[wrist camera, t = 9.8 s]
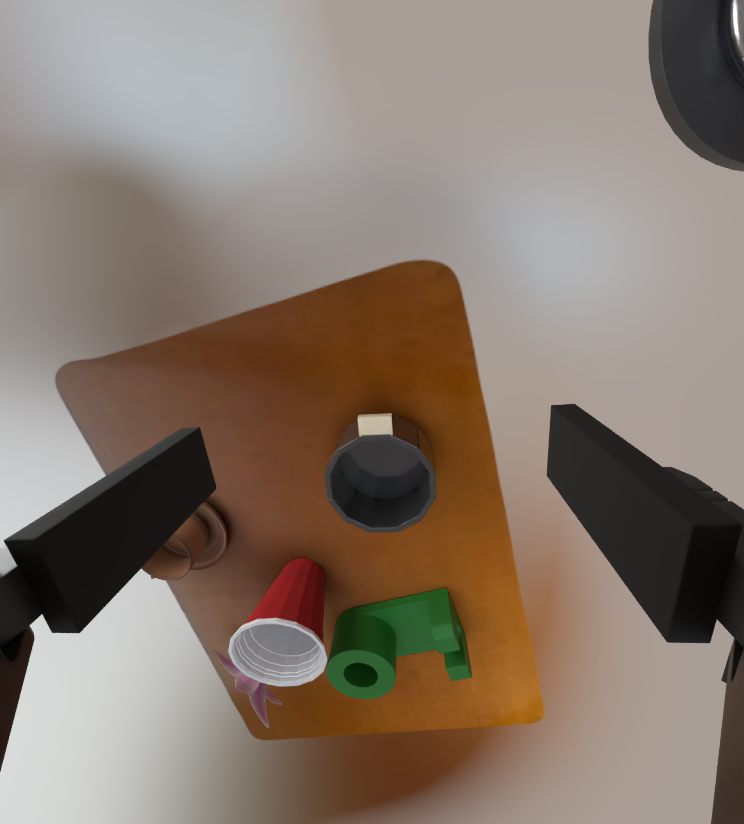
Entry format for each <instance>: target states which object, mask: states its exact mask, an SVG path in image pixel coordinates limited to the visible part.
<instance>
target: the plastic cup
mask: <svg viewBox="0 0 744 824" xmlns="http://www.w3.org/2000/svg"><path fill="white" fill-rule="evenodd" d="M324 587H325V578H324V572H323V570H322V568H321V567H320V565H319V564H317V563H316V562H314V561H313V560H310V559H306V558H296V559H294V560H292V561H290V562H289V563H288V564H287V565H286V566H285V567H284V568H283V570H282V571H281V573H280V574H279V576H278V577H277V578H276V580H275V581H274V582H273V583H272V585H271V586H270V588H269V589H268V591H267V592H266V593H265V595H264V596H263V598H262V599H261V601H260V602H259V604H258V605H257V607H256V608H255V610H254V611H253V613H252V614H251V615H250V616H249V618H248V619H247V621H246V622H245V623H244V624H243V625H242V626H241V627H240V629H239V630H238V631H237V632H236V633H235V634H234V635H233V636H232V638H231V639H230V645H229V650H228V652H229V654H230V657H231V659H232V661H233V664H234V665H235V666H236V667H237V668H238V669H240V670H241V671H242V672H243V673H244V674H245V675H247V676H249V677H251V678H253V679H255V680H257V681H259V682H261V683H265V684H270V685H275V686H298V685H301V684H304V683H307V682H310V681H313V680H314V679H315V678H316V677H317V676H319V675H320V674H321V673H322V672H323V671H324V668H325V665H326V662H327V654H326V651H325V647H324V642H323V614H324Z"/></svg>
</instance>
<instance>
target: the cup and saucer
mask: <svg viewBox="0 0 744 824" xmlns="http://www.w3.org/2000/svg"><path fill="white" fill-rule="evenodd" d="M226 547H227V531H226V528H225V525H224V523H223V521H222V519H221V518H220V516H219V515H218V514H217V513H216V511H215V510H214V509H213V508H212V507H210V506H209V505H208V504H207V503H205V502H203V503H202V504H201V505H200V506H199V507H198V509H197V510H196V511H195V512H194V513H193V514H192V515H191V516H190V517H189V518H188V519H187V520H186V521H185V522H184V523H183V524H182V525H181V527H180V528H179V529H178V530H177V531H176V532H175V533H174V534H173V535H172V536H171V537H170V538H169V539H168V540H167V541H166V542H165V543H164V544H163V546H162V547H161V548H160V549H159V550H158V551H157V552H156V553H155V554H154V555H153V556H152V557H151V558H150V559H149V560H148V561H147V562H146V563H145V565H144V566H143V567H142V569H143V570H144V571H145V572H146V573H148V574H149V575H151V578H152V579H153V578H158V579H161V580H168V581H171V580H177V579H180V578H182V577H184V576H185V575H186V574H187V573H188V572H189V570H201V569H205V568H208V567H211V566H213V565H214V564H216V563H217V562H218V561H219V560H220V559H221V558H222V556H223V555H224V552H225V550H226Z"/></svg>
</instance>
